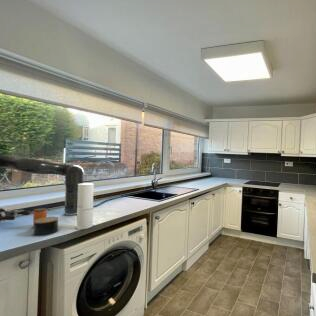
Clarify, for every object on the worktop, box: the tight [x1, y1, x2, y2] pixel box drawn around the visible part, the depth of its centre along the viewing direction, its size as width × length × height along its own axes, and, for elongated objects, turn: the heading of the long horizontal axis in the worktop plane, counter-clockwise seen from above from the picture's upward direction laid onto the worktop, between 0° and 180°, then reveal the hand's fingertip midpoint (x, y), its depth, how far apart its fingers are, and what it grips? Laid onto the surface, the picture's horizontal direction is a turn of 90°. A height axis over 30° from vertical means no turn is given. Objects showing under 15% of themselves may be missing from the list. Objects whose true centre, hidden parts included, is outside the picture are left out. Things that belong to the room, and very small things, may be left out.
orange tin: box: [32, 207, 48, 229], centre depth 110 cm, size 5×5×10 cm
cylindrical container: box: [76, 182, 95, 230], centre depth 113 cm, size 7×7×25 cm
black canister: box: [33, 216, 59, 237], centre depth 103 cm, size 9×9×7 cm
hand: (22, 215), depth 109 cm, fingers open, 8 cm apart
